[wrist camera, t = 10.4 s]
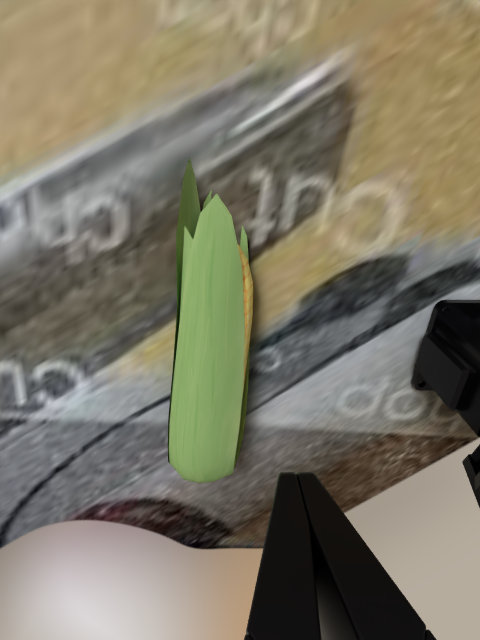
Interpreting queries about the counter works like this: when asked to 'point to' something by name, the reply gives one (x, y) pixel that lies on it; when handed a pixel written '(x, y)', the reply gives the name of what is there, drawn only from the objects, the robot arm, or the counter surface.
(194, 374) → the edible corn
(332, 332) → the counter surface
